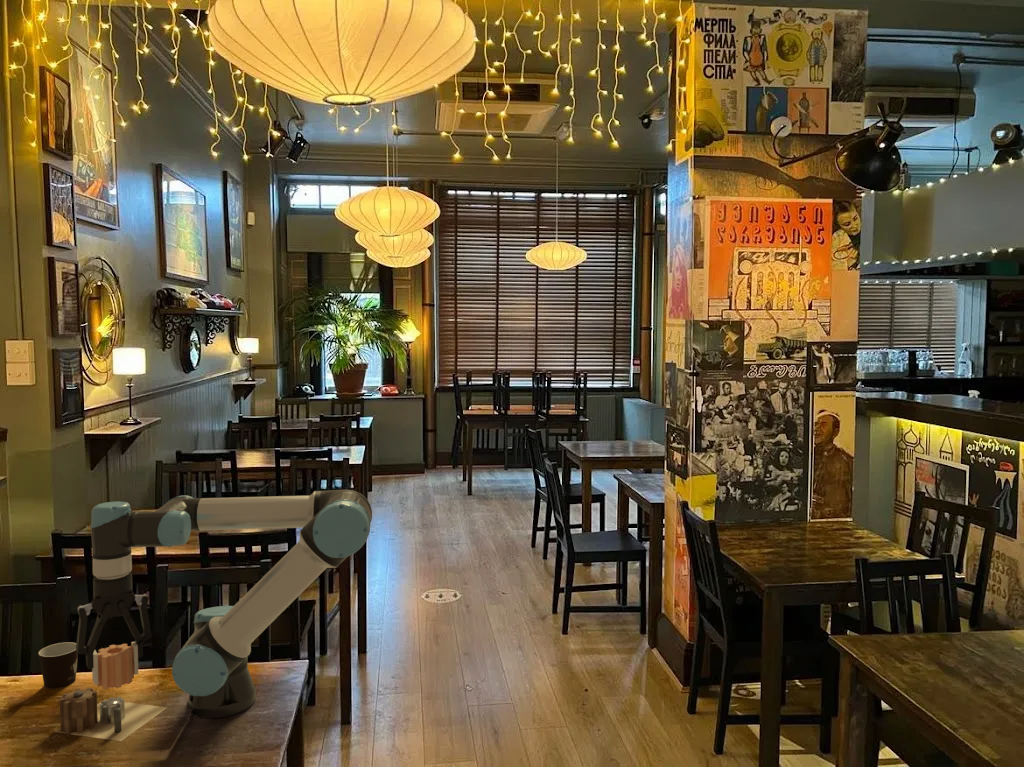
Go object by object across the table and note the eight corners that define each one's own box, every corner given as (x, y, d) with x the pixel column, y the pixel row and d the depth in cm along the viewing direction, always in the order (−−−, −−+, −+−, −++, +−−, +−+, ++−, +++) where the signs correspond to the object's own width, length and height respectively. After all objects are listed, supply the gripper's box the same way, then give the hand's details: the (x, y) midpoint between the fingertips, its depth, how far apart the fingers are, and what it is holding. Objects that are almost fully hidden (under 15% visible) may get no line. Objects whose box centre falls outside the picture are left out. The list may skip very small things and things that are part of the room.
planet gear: (130, 671, 170) (129, 641, 170) (136, 683, 165) (136, 651, 164) (94, 679, 166) (93, 648, 166) (100, 692, 160) (99, 660, 160)
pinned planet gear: (104, 719, 171) (103, 687, 170) (80, 736, 164) (79, 702, 163) (78, 716, 172) (77, 683, 172) (52, 732, 165) (51, 698, 165)
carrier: (167, 713, 177) (166, 686, 176) (121, 747, 162) (120, 718, 162) (105, 705, 180) (104, 679, 180) (54, 738, 166) (53, 709, 165)
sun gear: (129, 715, 173) (129, 698, 173) (113, 725, 168) (113, 708, 168) (111, 712, 174) (110, 695, 174) (95, 723, 169) (94, 706, 169)
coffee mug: (61, 698, 184) (60, 658, 183) (31, 694, 186) (29, 655, 185) (96, 676, 195) (95, 639, 195) (68, 673, 197) (66, 636, 196)
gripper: (158, 561, 173) (161, 659, 174) (56, 578, 161) (60, 683, 162) (166, 570, 167) (168, 671, 168) (61, 588, 155) (65, 696, 156)
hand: (115, 676), depth 165 cm, fingers closed on planet gear, 7 cm apart
